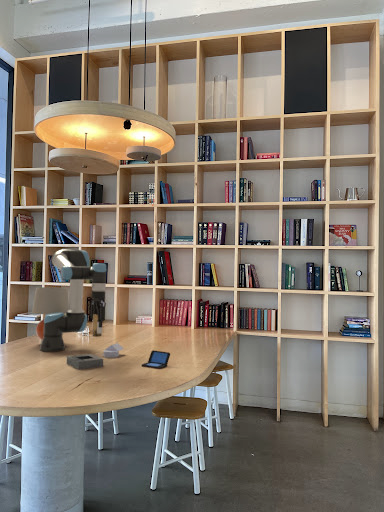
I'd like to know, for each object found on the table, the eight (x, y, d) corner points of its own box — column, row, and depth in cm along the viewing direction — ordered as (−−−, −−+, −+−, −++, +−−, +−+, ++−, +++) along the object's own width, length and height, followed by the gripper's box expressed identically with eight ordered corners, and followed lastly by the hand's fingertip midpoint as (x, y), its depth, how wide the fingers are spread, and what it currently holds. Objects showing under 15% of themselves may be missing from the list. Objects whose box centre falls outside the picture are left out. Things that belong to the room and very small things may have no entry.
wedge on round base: (110, 353, 262) (100, 356, 249) (111, 342, 262) (101, 345, 249) (123, 354, 259) (114, 358, 247) (124, 343, 259) (114, 346, 247)
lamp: (73, 341, 300) (75, 287, 301) (59, 347, 275) (61, 288, 277) (40, 340, 302) (43, 286, 304) (23, 346, 277) (26, 287, 279)
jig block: (66, 363, 228) (66, 356, 228) (90, 361, 237) (90, 353, 237) (78, 369, 215) (78, 361, 216) (103, 366, 224) (103, 358, 224)
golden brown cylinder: (90, 335, 233) (91, 314, 234) (99, 335, 236) (99, 313, 237) (95, 336, 229) (95, 314, 230) (103, 336, 232) (103, 314, 233)
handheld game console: (140, 366, 227) (140, 352, 227) (151, 363, 236) (151, 350, 236) (159, 369, 221) (160, 355, 221) (170, 366, 230) (170, 352, 231)
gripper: (85, 290, 238) (83, 331, 237) (100, 291, 224) (98, 335, 223) (97, 290, 243) (95, 330, 242) (112, 291, 229) (111, 334, 228)
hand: (97, 332), depth 233 cm, fingers closed on golden brown cylinder, 5 cm apart
